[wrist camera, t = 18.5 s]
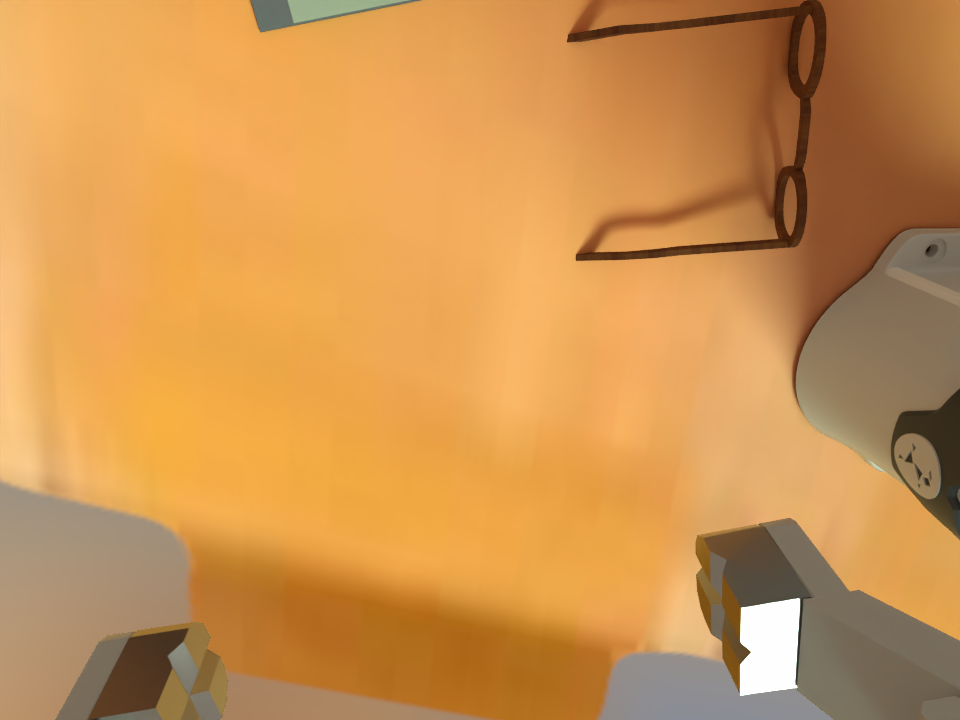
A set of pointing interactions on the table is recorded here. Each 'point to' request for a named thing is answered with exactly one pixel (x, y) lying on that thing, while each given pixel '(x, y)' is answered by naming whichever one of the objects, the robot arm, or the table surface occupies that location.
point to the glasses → (804, 94)
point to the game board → (311, 10)
